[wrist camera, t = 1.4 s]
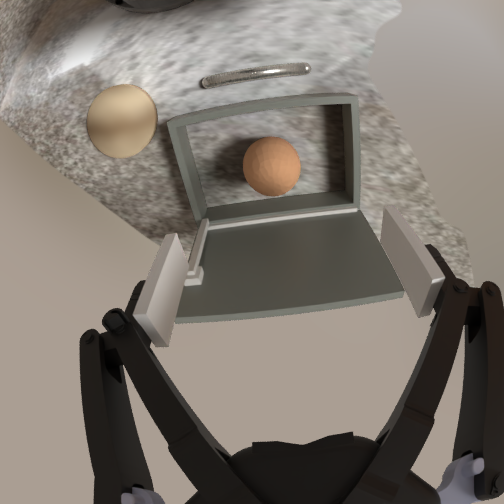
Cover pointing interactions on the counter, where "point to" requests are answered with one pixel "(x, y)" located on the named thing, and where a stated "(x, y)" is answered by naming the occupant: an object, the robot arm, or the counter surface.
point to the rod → (256, 74)
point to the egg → (271, 166)
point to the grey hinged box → (281, 237)
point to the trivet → (122, 120)
